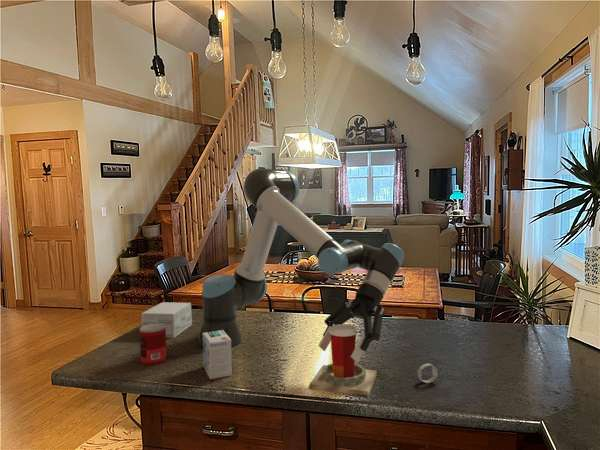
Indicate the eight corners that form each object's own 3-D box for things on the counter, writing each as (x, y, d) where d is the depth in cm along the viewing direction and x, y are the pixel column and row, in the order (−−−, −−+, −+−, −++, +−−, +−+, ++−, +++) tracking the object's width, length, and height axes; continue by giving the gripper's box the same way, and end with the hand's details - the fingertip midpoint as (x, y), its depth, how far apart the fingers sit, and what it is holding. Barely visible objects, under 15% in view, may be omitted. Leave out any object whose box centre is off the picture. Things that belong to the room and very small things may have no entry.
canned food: (171, 357, 144) (170, 324, 143) (155, 366, 136) (154, 331, 136) (151, 355, 146) (150, 322, 146) (135, 363, 139) (134, 329, 138)
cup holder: (309, 388, 119) (309, 376, 119) (323, 368, 132) (322, 358, 132) (368, 395, 114) (368, 383, 114) (376, 374, 127) (376, 363, 127)
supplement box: (162, 324, 183) (161, 301, 182) (192, 325, 181) (191, 302, 180) (141, 337, 166) (140, 312, 166) (174, 338, 164) (173, 313, 164)
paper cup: (357, 371, 126) (356, 323, 126) (358, 382, 119) (357, 331, 118) (329, 371, 127) (329, 323, 126) (329, 382, 120) (328, 331, 119)
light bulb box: (202, 366, 136) (201, 332, 135) (224, 363, 138) (223, 329, 138) (209, 379, 126) (208, 342, 125) (233, 375, 128) (232, 339, 128)
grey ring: (438, 383, 121) (438, 365, 120) (421, 385, 120) (421, 367, 119) (432, 378, 124) (432, 361, 123) (416, 380, 123) (416, 363, 122)
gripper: (412, 303, 123) (378, 373, 114) (348, 291, 141) (314, 350, 131) (401, 287, 119) (364, 358, 110) (336, 276, 137) (300, 336, 128)
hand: (337, 353), depth 121 cm, fingers open, 11 cm apart
